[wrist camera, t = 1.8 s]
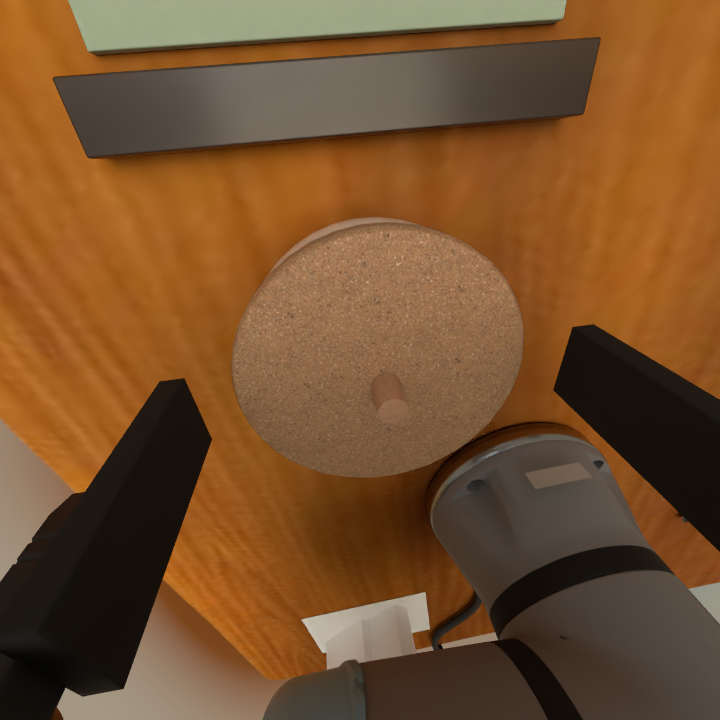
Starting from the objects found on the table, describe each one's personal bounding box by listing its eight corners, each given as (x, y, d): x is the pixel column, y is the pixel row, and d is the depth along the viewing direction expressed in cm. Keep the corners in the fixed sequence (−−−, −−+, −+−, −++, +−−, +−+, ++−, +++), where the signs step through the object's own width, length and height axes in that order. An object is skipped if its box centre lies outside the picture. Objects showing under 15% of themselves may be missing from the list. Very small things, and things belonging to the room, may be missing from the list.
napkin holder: (322, 653, 44) (324, 714, 39) (300, 619, 38) (298, 686, 33) (430, 628, 44) (445, 686, 39) (425, 591, 38) (441, 653, 33)
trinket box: (449, 364, 22) (530, 484, 14) (289, 394, 21) (275, 535, 13) (451, 181, 16) (592, 203, 8) (232, 218, 15) (146, 280, 8)
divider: (559, 118, 15) (584, 114, 14) (109, 158, 14) (86, 158, 12) (573, 48, 14) (602, 36, 12) (78, 85, 12) (50, 76, 11)
